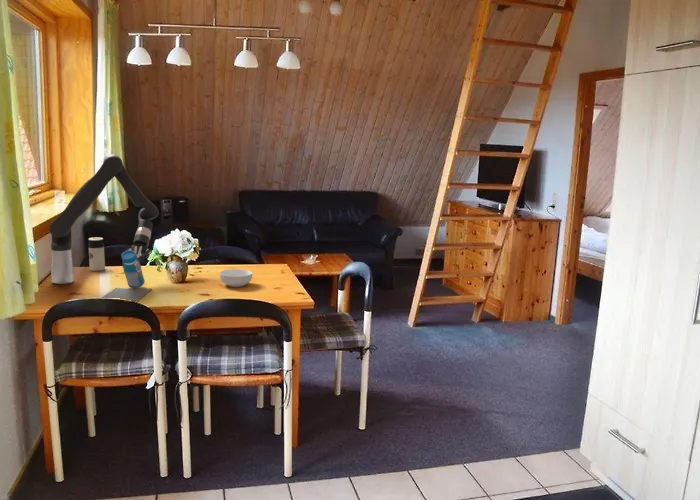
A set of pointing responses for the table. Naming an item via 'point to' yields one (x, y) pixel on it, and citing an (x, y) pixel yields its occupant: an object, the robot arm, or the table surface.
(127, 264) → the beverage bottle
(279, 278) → the table surface
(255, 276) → the table surface
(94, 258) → the travel mug
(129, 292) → the mat
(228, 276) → the cereal bowl
